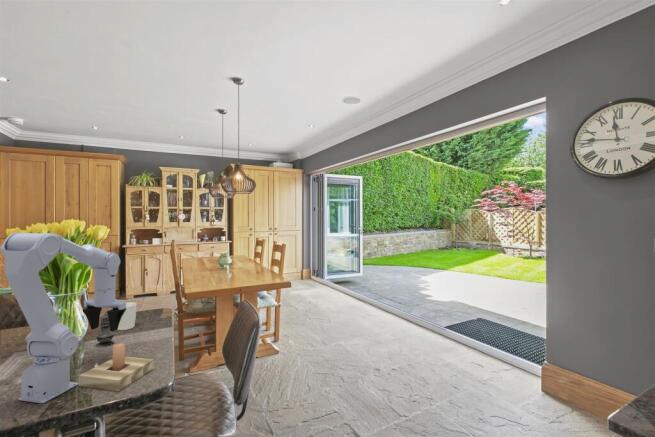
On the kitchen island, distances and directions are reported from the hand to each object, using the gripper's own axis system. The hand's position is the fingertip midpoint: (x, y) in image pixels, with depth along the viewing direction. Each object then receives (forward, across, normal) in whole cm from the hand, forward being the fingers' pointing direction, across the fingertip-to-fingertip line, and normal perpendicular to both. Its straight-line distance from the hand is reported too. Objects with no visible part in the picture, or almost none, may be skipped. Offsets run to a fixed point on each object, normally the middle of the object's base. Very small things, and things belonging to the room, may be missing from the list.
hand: (104, 329), depth 103 cm
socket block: (+10, -13, +8) cm, 19 cm away
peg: (+10, -13, +8) cm, 19 cm away
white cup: (+11, +19, -29) cm, 36 cm away
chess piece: (+11, +12, -12) cm, 20 cm away
